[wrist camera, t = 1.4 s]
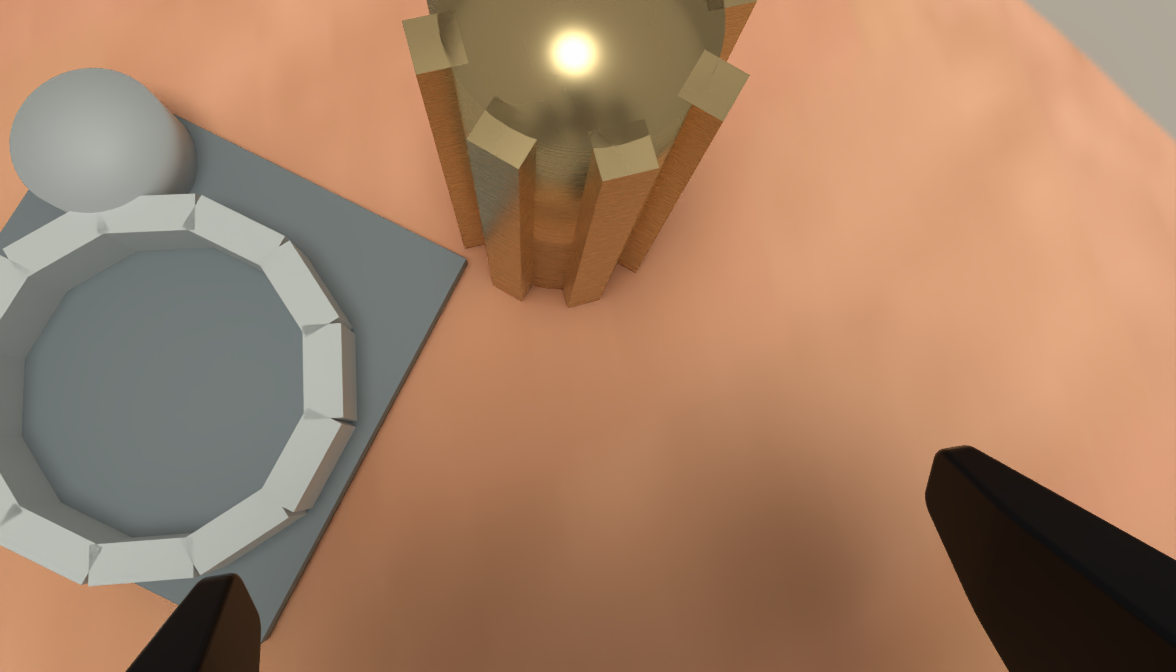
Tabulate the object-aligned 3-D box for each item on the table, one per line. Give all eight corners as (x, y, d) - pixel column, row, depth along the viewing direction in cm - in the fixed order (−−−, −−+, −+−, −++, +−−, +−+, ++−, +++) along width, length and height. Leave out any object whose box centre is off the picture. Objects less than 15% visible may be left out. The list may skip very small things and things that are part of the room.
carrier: (467, 263, 24) (460, 240, 22) (266, 640, 22) (232, 663, 19) (112, 87, 24) (63, 43, 22) (-123, 447, 22) (-208, 445, 19)
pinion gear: (689, 177, 25) (814, -39, 14) (594, 343, 24) (651, 245, 13) (522, 82, 25) (520, -206, 14) (420, 242, 24) (334, 63, 13)
